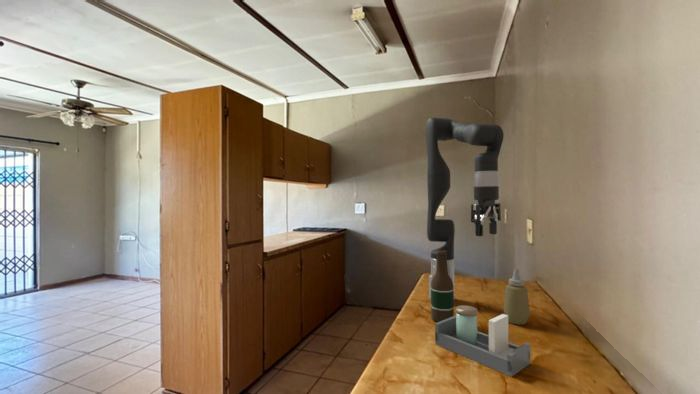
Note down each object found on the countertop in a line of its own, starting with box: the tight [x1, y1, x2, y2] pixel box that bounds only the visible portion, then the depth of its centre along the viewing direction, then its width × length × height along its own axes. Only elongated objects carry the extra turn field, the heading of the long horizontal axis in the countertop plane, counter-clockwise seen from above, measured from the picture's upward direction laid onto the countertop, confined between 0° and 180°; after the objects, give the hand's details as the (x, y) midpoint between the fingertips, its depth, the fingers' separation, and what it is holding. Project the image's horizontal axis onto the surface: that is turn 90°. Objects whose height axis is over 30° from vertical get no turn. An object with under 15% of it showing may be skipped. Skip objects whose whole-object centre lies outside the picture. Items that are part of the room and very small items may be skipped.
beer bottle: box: [430, 250, 455, 323], centre depth 113 cm, size 8×8×24 cm
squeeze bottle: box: [503, 268, 531, 326], centre depth 111 cm, size 8×8×18 cm
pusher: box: [488, 313, 515, 358], centre depth 84 cm, size 4×7×10 cm, turn 128°
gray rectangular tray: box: [434, 314, 531, 378], centre depth 89 cm, size 22×10×6 cm, turn 38°
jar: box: [455, 305, 479, 346], centre depth 92 cm, size 6×6×10 cm
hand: (486, 235), depth 106 cm, fingers open, 8 cm apart
